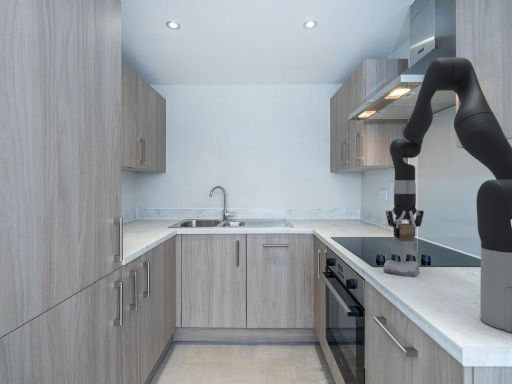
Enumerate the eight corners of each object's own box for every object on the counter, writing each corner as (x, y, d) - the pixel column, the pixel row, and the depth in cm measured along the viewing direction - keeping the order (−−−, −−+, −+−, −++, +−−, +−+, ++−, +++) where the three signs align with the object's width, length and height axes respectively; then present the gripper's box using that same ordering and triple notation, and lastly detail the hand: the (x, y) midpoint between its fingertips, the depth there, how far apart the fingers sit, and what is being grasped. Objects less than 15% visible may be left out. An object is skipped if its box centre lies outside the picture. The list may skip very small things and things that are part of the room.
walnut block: (414, 241, 120) (414, 225, 119) (401, 241, 119) (401, 225, 119) (407, 239, 125) (407, 223, 124) (394, 239, 124) (394, 223, 124)
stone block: (418, 283, 113) (419, 271, 121) (417, 270, 112) (419, 259, 120) (382, 279, 119) (386, 268, 127) (381, 267, 118) (385, 256, 126)
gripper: (391, 192, 117) (390, 239, 118) (429, 192, 118) (428, 239, 119) (381, 192, 125) (381, 236, 125) (417, 192, 126) (417, 236, 126)
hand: (404, 237), depth 122 cm, fingers closed on walnut block, 5 cm apart
